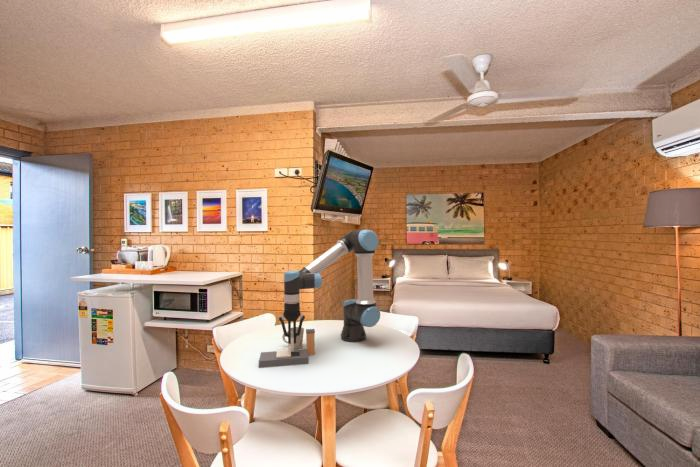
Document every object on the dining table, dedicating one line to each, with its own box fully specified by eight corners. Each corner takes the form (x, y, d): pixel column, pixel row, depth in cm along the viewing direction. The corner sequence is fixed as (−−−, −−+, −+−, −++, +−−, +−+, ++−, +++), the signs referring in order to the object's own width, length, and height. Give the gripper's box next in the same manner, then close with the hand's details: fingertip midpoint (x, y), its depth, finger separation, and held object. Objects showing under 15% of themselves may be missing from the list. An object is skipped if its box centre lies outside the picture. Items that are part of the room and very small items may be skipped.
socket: (306, 354, 168) (306, 348, 168) (308, 363, 156) (308, 357, 156) (261, 358, 164) (260, 352, 164) (258, 367, 152) (258, 361, 152)
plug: (314, 351, 173) (314, 328, 173) (315, 354, 168) (314, 331, 169) (306, 352, 172) (305, 329, 172) (306, 355, 168) (306, 331, 168)
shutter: (290, 350, 165) (290, 342, 165) (290, 357, 156) (290, 348, 156) (276, 351, 164) (276, 343, 164) (276, 358, 155) (276, 349, 155)
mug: (300, 350, 175) (300, 331, 175) (279, 348, 178) (279, 330, 178) (306, 345, 183) (305, 327, 183) (285, 343, 186) (285, 326, 186)
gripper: (304, 300, 166) (305, 346, 165) (278, 301, 163) (278, 348, 163) (305, 303, 158) (305, 351, 158) (278, 304, 156) (278, 353, 156)
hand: (292, 350), depth 161 cm, fingers closed
